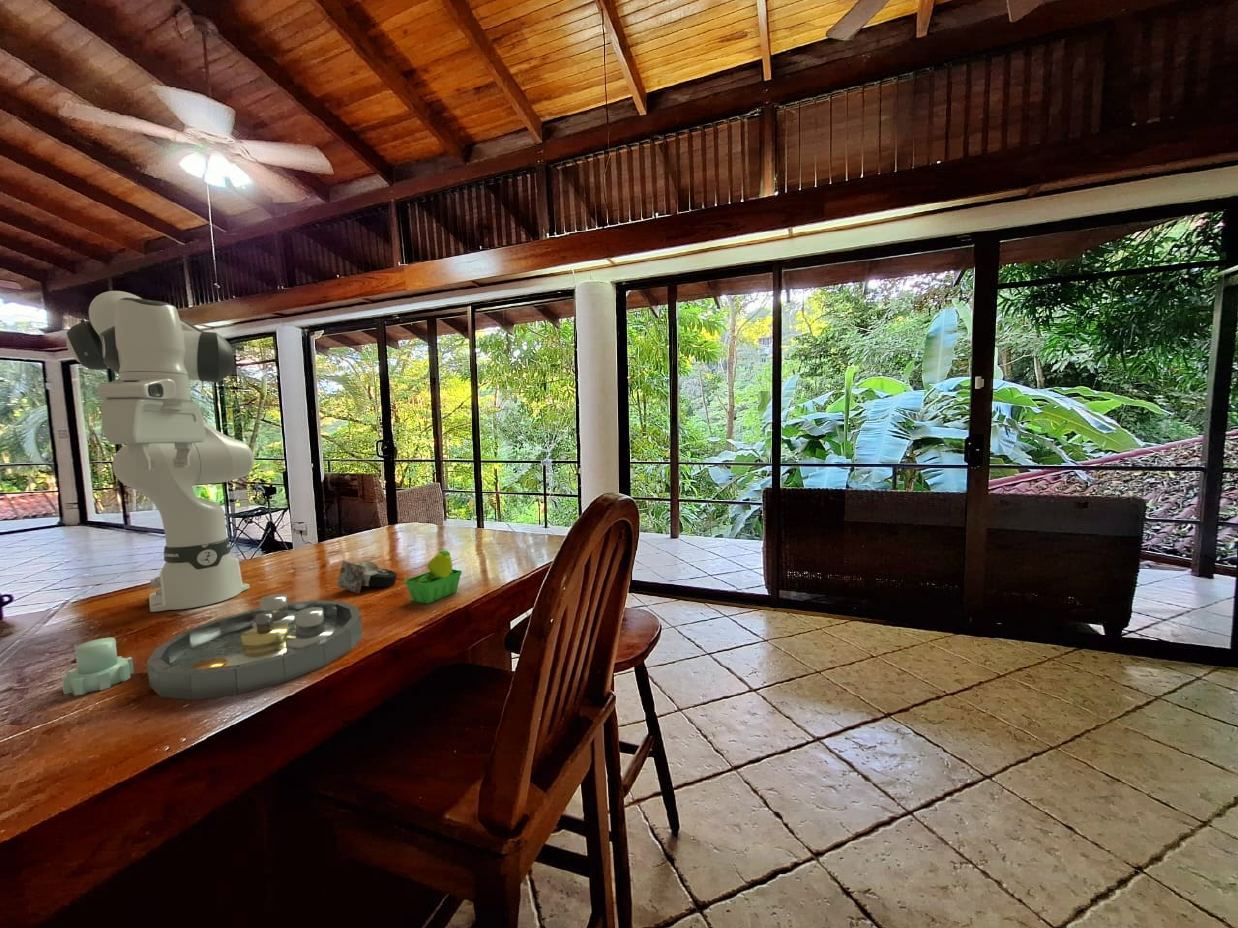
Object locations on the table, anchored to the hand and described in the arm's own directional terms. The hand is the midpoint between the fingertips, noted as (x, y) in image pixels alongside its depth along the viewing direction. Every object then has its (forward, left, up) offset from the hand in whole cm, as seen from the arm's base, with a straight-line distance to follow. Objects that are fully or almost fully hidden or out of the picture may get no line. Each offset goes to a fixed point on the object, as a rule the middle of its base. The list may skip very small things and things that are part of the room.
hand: (164, 469), depth 86 cm
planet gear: (+3, -11, -34) cm, 36 cm away
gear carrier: (+15, +8, -34) cm, 38 cm away
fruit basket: (+17, +42, -34) cm, 56 cm away
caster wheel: (-6, +38, -34) cm, 52 cm away
